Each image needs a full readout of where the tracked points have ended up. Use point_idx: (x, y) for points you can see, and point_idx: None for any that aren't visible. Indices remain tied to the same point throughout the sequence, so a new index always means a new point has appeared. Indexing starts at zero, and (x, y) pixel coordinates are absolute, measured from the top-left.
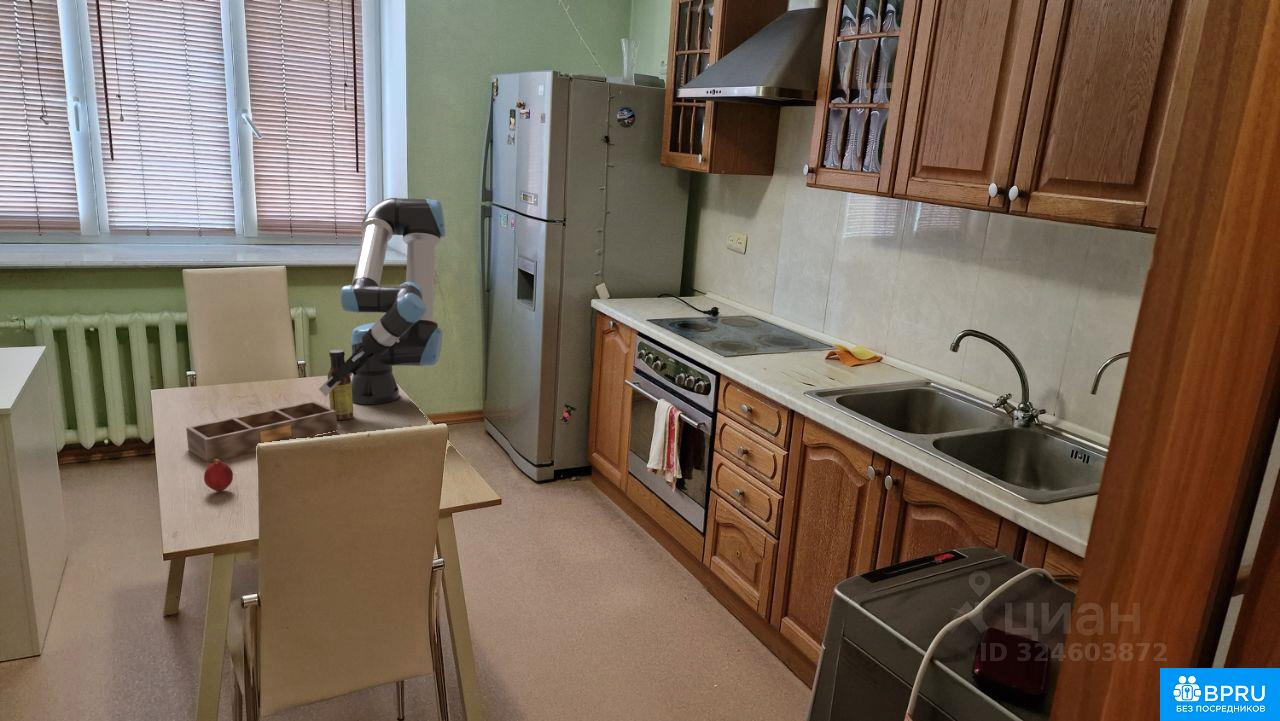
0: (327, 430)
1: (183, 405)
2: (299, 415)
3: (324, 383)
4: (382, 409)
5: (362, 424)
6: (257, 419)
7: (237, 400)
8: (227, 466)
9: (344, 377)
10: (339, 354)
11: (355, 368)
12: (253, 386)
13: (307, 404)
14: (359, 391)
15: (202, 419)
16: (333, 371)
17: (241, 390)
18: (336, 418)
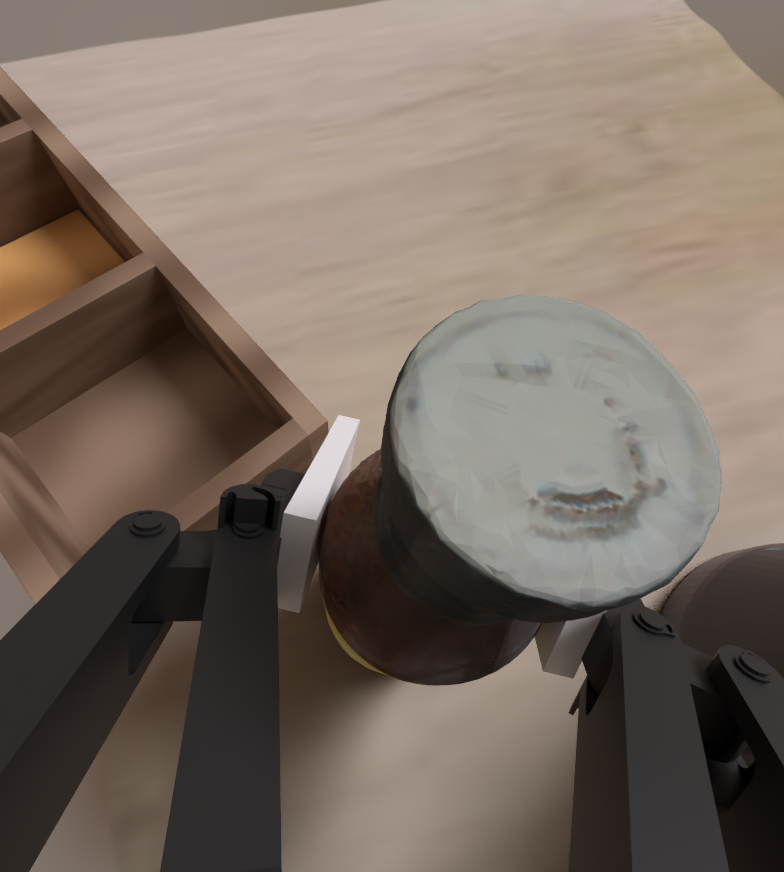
0: None
1: (507, 20)
2: (246, 385)
3: (322, 444)
4: None
5: None
6: (104, 218)
7: (590, 132)
8: None
9: (353, 638)
10: (410, 531)
11: (581, 756)
12: (768, 145)
13: (271, 395)
14: (716, 647)
15: (359, 84)
16: (361, 493)
17: (708, 122)
18: None
